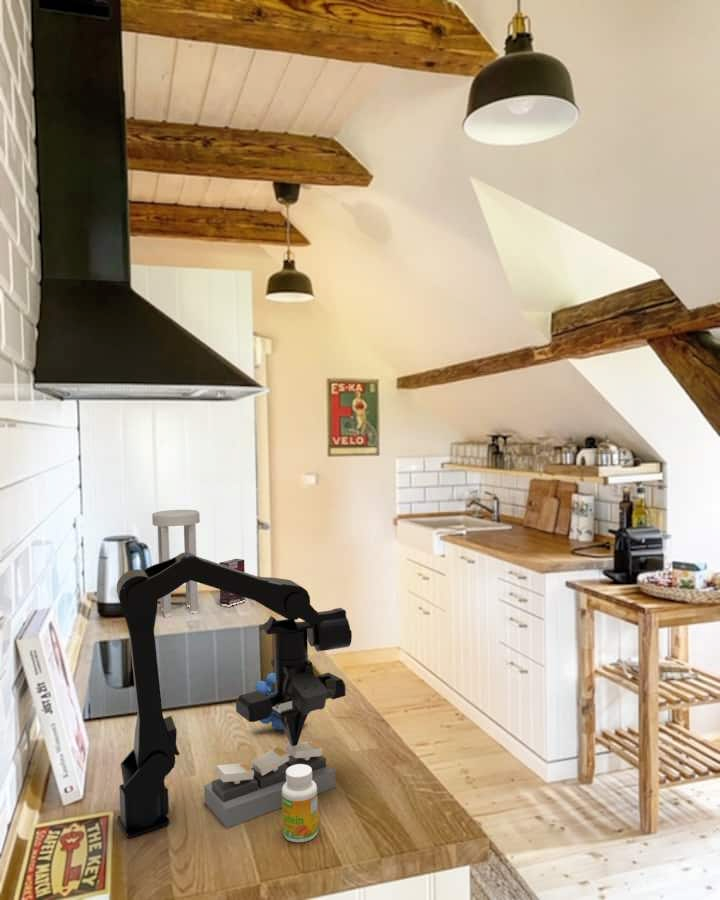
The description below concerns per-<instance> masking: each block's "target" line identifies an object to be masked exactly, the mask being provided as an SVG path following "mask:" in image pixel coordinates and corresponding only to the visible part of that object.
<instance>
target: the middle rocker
mask: <svg viewBox="0 0 720 900" xmlns="http://www.w3.org/2000/svg"><path fill="white" fill-rule="evenodd" d="M288 756H289V753H288V752H287V751H285V750H284V749H282V748H281V747H279V745H278V746H275V747H274V748H272V749H270V750H268V751H266V752H265V753H263V754H261V755H259V756H257V757H256V758H254V759H252V760H251V762H250V763H251V766H252V768H254V769H255V770H256V771H257V772H258V773H260V774H261V775H262V776H263V775H265V774H267V773H268V772H270V771H272V770H273V771H274V772H275V771H276V770H278V767H279V766H280V765H282V764H284V763H286V762H287V761H289V757H288Z"/></svg>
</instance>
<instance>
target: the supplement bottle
mask: <svg viewBox="0 0 720 900" xmlns="http://www.w3.org/2000/svg"><path fill="white" fill-rule="evenodd" d="M286 781H287V782H286V783H285V784H284V785H283V788H282V808H281V809H282V813H281V815H282V817H281V818H282V834H283V837H284V838H285V840H287V841H289V842H291V843H292V842H293V843H305V842H308V841H311V840H312V839H314V838H315V837H316V836H317V834H318V832H319V807H318V794H317V786H316V783H315V782H314V781H313V780H312V768H311V767H310V766H308V765H305V764H296V765H292V766H290V767H289V768H287V770H286Z"/></svg>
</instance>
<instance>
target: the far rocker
mask: <svg viewBox="0 0 720 900" xmlns="http://www.w3.org/2000/svg"><path fill="white" fill-rule="evenodd" d="M284 751H285V752H286V753H287V754H288V755H289V756H290V755H292V756H293V757H294V758H303V759H305V760H309V759H310V757H316V756H321V755H322V754H323V748H322V747H321V746H319V745H318V744H316V743H314V741H302V742H299V741H298V744H297V745H296V746H292V745H291V744H290V742H287V743H286V744H285V750H284Z"/></svg>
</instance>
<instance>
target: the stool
mask: <svg viewBox="0 0 720 900" xmlns="http://www.w3.org/2000/svg"><path fill="white" fill-rule="evenodd" d="M151 514H152V515H151V516H152V525H153V526H155V527H157V543H158V544H157V549H158V563H161V562H164V561H166V560H169V559H171V557H170V538H169V537H170V536H169V535H170V532H169V531H170V530H169V528H170V527H181V526H182V527H183V536H184V537H183V541H184V542H183V543H184V544H183V545H184V546H183V547H184V552H189V553H192V554H194V555H195V556H197V537H196V536H197V534H196V533H197V531H196V524H198V523H200V521H201V520H200V516H201V515H200V512H199V511H198V510H196V509H171V510H161V511H160V510H159V511H157V512H153V513H151ZM198 590H199V589H198V582H195V581H188V582H186V583H185V601H186V603H185V604H187V605H190V608H189V610H191V611H198V612H199V599H198V598H199V595H198V594H199V593H198ZM171 593H172V592H171ZM171 593H169V594H168V595H166V596H164V597H162V598H160V599H159V600H160V601H159V604H160V606H159V607H161V608H163V610H164V611H163V615H164V614H169V613H171V614H172V597H171V595H172V594H171ZM191 611H190V612H191Z"/></svg>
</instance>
